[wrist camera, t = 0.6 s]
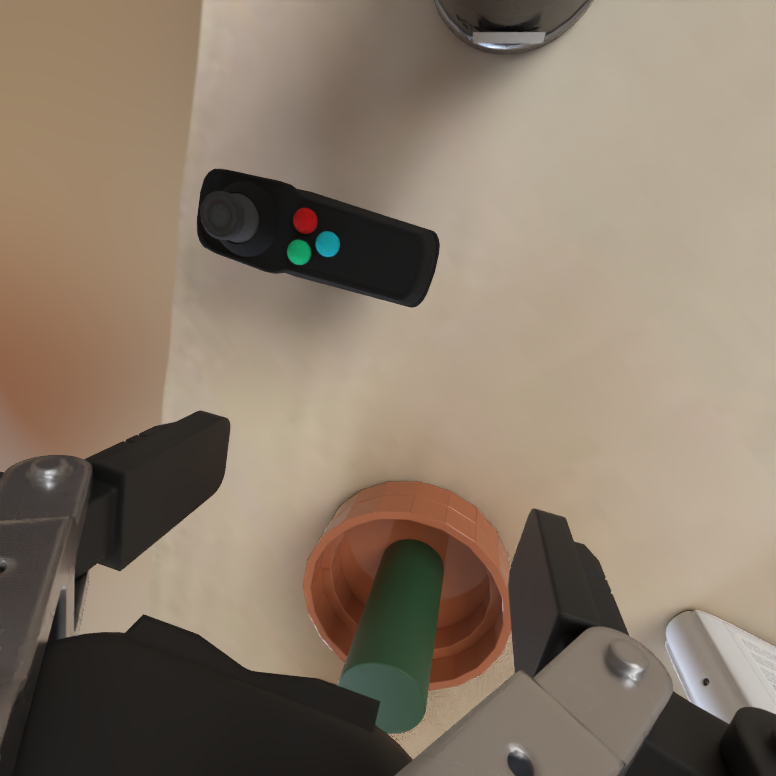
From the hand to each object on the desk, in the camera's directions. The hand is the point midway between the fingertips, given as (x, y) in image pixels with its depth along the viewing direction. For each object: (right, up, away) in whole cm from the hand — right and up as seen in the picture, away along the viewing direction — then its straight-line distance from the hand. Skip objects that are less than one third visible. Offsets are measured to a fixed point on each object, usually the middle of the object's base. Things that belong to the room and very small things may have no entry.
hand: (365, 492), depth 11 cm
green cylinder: (+2, -11, +23) cm, 25 cm away
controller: (-2, +12, +18) cm, 21 cm away
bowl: (+3, -11, +23) cm, 26 cm away
